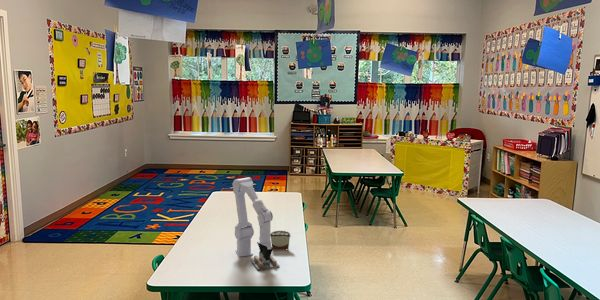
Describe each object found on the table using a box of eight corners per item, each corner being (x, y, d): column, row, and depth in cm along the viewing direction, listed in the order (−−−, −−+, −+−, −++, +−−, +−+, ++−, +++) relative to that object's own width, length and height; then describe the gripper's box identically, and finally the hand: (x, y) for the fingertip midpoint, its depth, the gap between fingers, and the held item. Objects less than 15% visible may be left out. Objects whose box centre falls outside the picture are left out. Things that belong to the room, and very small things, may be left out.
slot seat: (251, 262, 242) (251, 256, 242) (271, 258, 247) (271, 252, 246) (258, 270, 231) (257, 264, 231) (279, 267, 236) (279, 261, 236)
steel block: (259, 262, 240) (259, 251, 239) (266, 260, 242) (266, 250, 241) (261, 265, 236) (261, 254, 235) (269, 264, 238) (269, 253, 237)
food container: (290, 246, 266) (290, 230, 264) (290, 250, 260) (290, 233, 258) (270, 246, 266) (270, 230, 264) (269, 250, 260) (269, 233, 258)
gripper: (253, 229, 241) (253, 253, 244) (262, 238, 228) (262, 263, 230) (266, 228, 244) (266, 251, 246) (275, 236, 231) (275, 261, 233)
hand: (265, 257), depth 239 cm, fingers open, 7 cm apart
